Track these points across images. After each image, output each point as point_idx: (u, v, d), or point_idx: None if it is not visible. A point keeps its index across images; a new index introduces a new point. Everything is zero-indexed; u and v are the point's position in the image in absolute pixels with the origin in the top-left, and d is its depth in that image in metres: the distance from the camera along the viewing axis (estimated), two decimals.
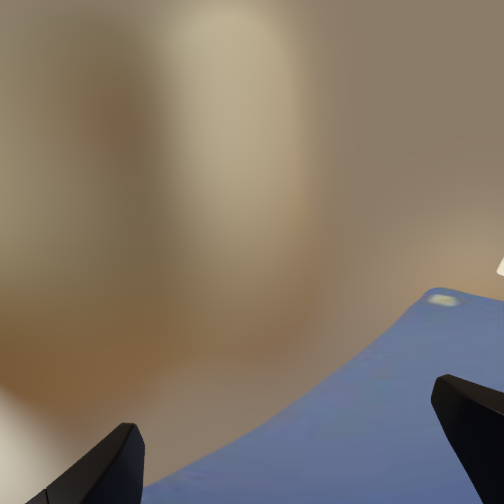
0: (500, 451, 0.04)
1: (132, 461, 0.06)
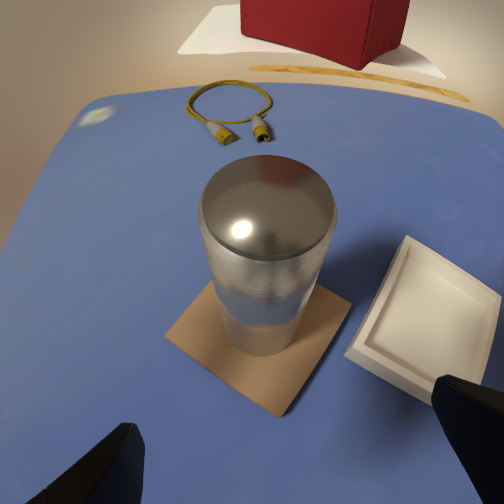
0: (500, 451, 0.04)
1: (132, 461, 0.06)
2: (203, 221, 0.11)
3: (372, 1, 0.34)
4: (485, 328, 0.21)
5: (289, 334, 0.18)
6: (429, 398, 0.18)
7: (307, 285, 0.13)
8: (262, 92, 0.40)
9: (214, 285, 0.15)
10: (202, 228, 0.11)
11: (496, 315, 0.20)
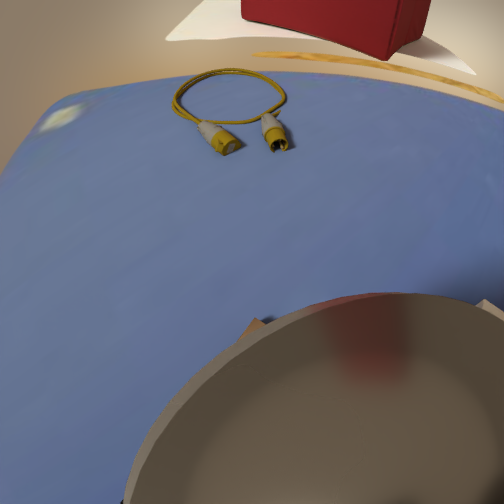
0: None
1: None
2: None
3: None
4: None
5: None
6: None
7: None
8: (272, 83, 0.30)
9: None
10: None
11: None
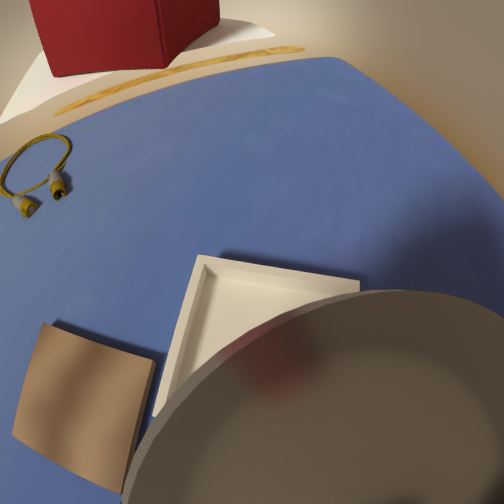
0: None
1: None
2: None
3: None
4: None
5: None
6: None
7: None
8: (62, 138, 0.34)
9: None
10: None
11: None
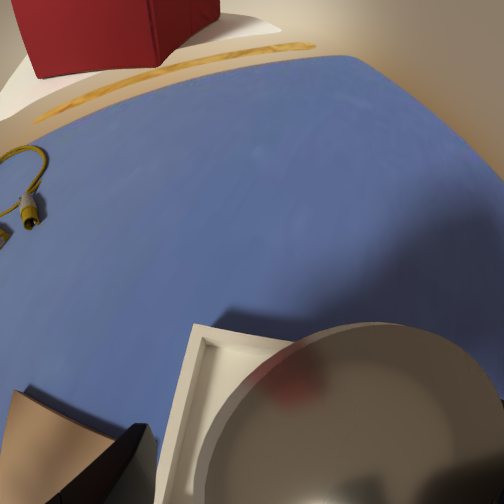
0: None
1: (145, 462, 0.06)
2: None
3: None
4: None
5: None
6: None
7: None
8: (39, 151, 0.28)
9: None
10: None
11: None
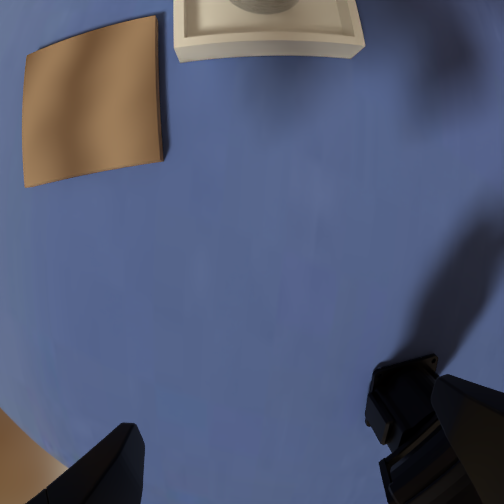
0: (500, 451, 0.04)
1: (132, 461, 0.06)
2: None
3: None
4: None
5: None
6: (304, 48, 0.16)
7: None
8: None
9: None
10: None
11: None
